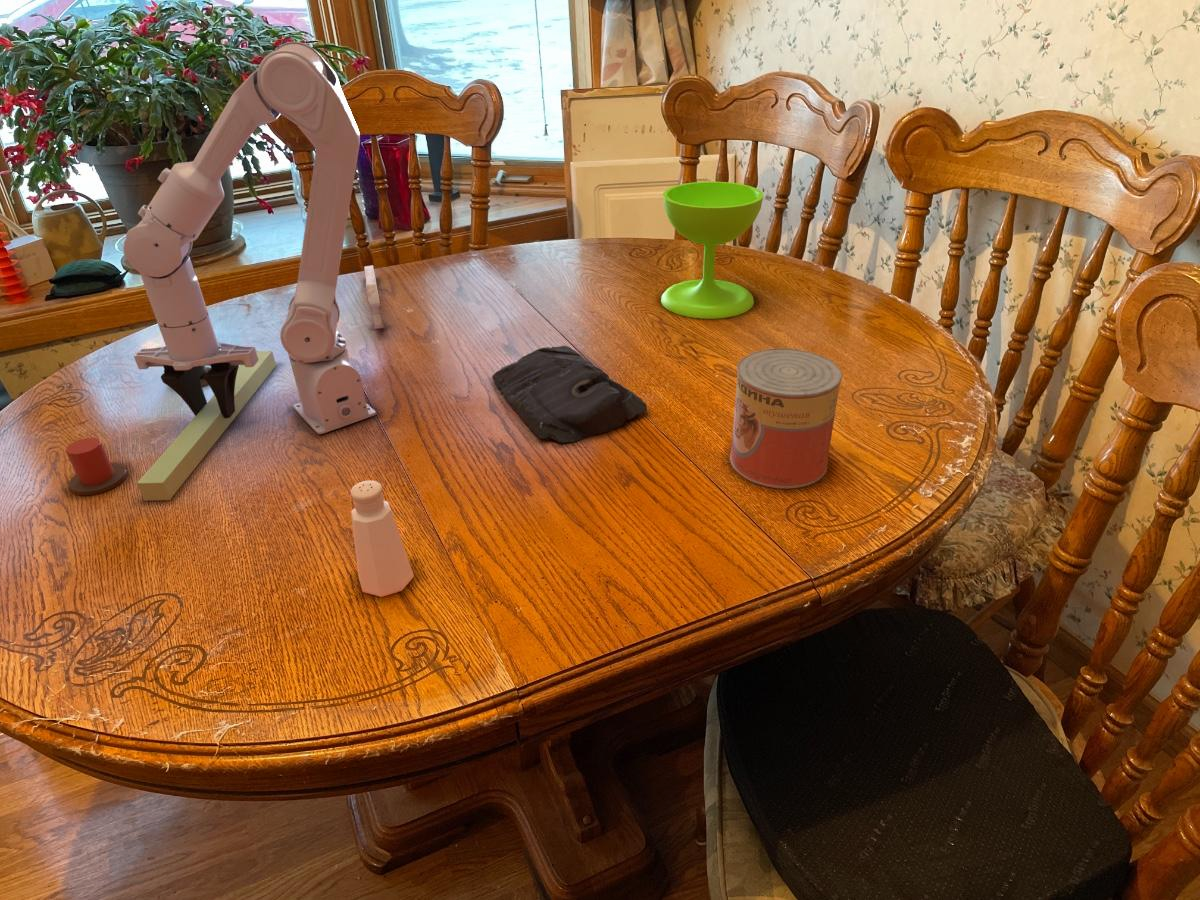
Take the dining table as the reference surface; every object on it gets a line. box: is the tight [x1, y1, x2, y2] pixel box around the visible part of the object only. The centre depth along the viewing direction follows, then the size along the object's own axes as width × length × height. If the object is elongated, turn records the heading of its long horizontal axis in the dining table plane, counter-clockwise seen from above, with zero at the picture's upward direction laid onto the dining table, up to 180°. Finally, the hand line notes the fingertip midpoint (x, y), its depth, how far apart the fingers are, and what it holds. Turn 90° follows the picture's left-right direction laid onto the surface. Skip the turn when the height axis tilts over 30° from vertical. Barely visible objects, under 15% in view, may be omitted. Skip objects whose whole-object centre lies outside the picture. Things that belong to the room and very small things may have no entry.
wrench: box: [363, 264, 385, 330], centre depth 134 cm, size 8×2×30 cm
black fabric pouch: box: [491, 345, 648, 445], centre depth 105 cm, size 15×22×5 cm
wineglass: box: [660, 181, 764, 320], centre depth 129 cm, size 16×16×18 cm
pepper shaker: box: [350, 479, 415, 598], centre depth 74 cm, size 5×5×11 cm
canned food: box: [729, 348, 843, 490], centre depth 89 cm, size 11×11×12 cm
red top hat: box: [65, 436, 128, 497], centre depth 91 cm, size 6×6×5 cm
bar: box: [136, 350, 277, 502], centre depth 102 cm, size 34×3×2 cm, turn 0°
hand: (216, 414), depth 102 cm, fingers closed on bar, 3 cm apart
